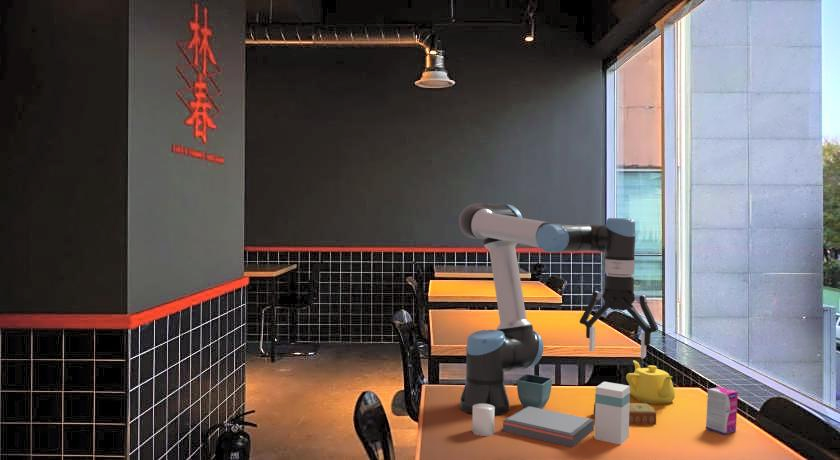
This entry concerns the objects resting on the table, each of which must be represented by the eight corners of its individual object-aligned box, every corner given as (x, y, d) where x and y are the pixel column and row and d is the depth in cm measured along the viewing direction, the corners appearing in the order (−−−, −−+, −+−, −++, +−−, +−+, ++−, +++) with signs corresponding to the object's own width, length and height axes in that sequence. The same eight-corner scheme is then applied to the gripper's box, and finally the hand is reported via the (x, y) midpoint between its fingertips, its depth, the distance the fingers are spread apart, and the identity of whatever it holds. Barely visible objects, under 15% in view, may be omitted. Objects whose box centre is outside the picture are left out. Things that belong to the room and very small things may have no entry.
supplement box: (725, 435, 171) (726, 393, 170) (705, 428, 176) (706, 388, 175) (737, 431, 174) (738, 391, 174) (717, 425, 179) (718, 386, 179)
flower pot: (542, 413, 187) (542, 384, 187) (515, 408, 192) (515, 379, 191) (552, 406, 194) (553, 378, 194) (526, 401, 199) (526, 373, 199)
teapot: (609, 390, 214) (609, 359, 214) (649, 388, 217) (650, 357, 217) (645, 410, 192) (645, 375, 192) (689, 407, 195) (690, 373, 195)
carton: (656, 426, 179) (656, 411, 179) (600, 424, 179) (600, 409, 179) (647, 416, 187) (647, 402, 187) (593, 415, 188) (593, 401, 188)
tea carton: (594, 439, 166) (595, 387, 166) (603, 431, 172) (604, 381, 172) (621, 444, 162) (622, 391, 162) (628, 437, 168) (630, 385, 168)
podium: (502, 431, 171) (502, 419, 171) (527, 416, 184) (527, 405, 184) (572, 447, 160) (572, 434, 160) (593, 430, 173) (593, 418, 173)
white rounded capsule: (468, 433, 170) (468, 407, 169) (478, 427, 174) (479, 402, 174) (487, 437, 166) (488, 411, 166) (498, 431, 171) (498, 406, 171)
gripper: (569, 273, 170) (567, 350, 171) (665, 279, 157) (663, 363, 158) (578, 271, 177) (576, 345, 177) (671, 277, 164) (668, 357, 164)
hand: (617, 353), depth 168 cm, fingers open, 13 cm apart
